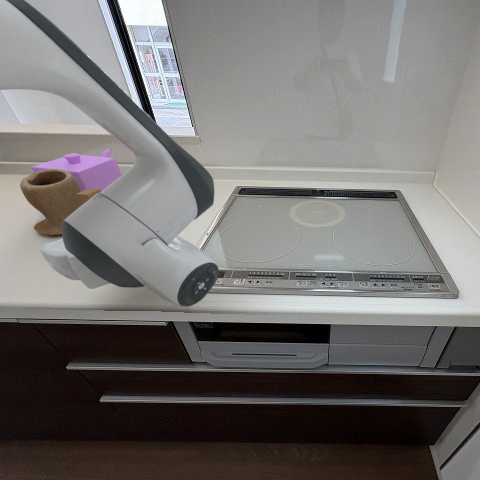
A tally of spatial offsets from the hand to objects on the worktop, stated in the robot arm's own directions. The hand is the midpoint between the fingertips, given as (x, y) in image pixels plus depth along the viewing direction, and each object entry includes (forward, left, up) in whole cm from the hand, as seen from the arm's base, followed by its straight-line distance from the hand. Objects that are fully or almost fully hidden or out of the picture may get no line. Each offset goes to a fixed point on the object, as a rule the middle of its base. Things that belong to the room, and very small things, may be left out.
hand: (101, 220), depth 50 cm
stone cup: (-25, +20, -14) cm, 35 cm away
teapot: (-31, +37, -14) cm, 51 cm away
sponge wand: (+2, -1, -8) cm, 8 cm away
